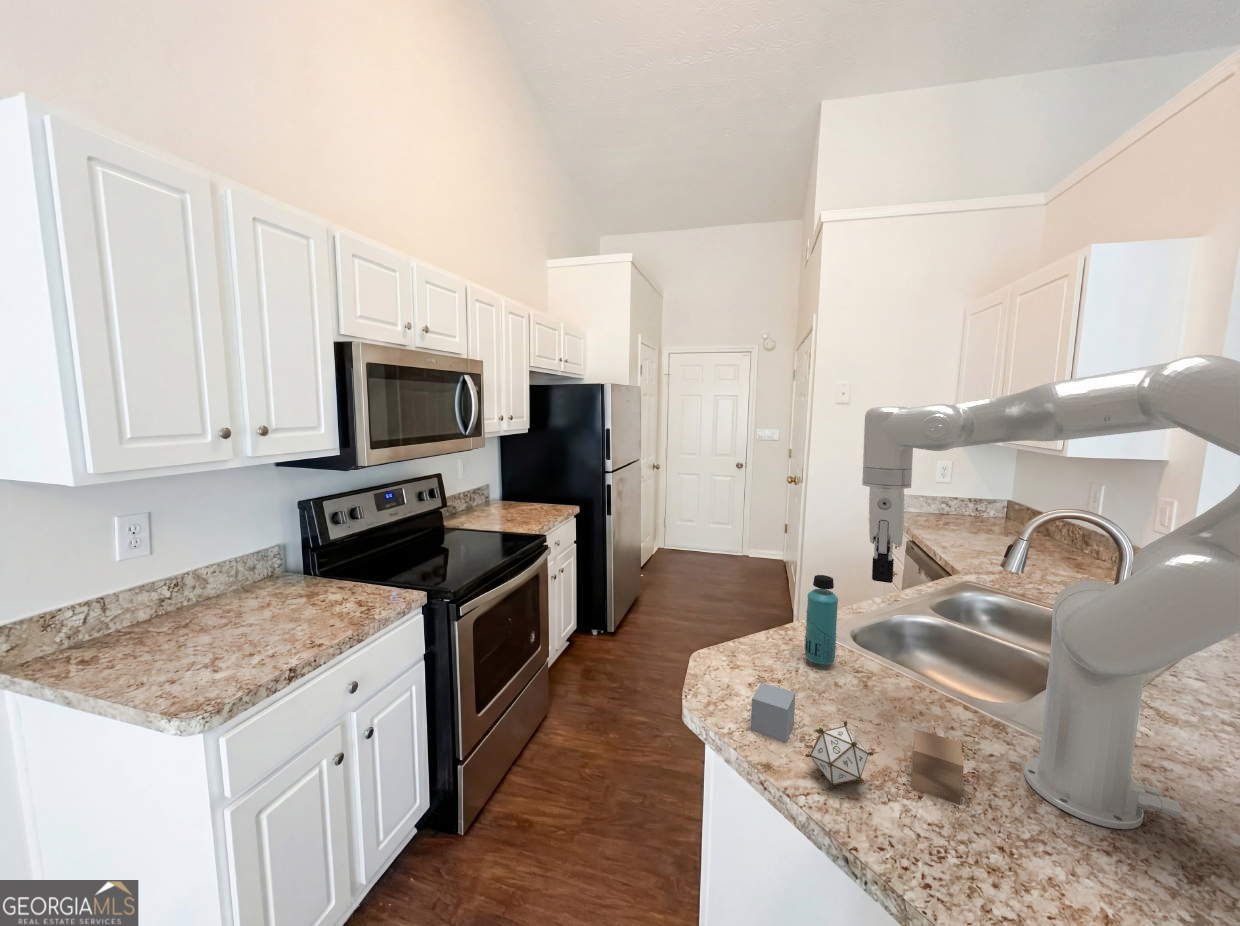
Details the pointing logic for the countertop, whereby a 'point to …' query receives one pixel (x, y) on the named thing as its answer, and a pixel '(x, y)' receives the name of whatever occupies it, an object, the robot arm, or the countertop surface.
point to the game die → (839, 755)
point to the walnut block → (937, 766)
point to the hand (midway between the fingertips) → (882, 580)
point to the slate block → (773, 712)
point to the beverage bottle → (821, 622)
